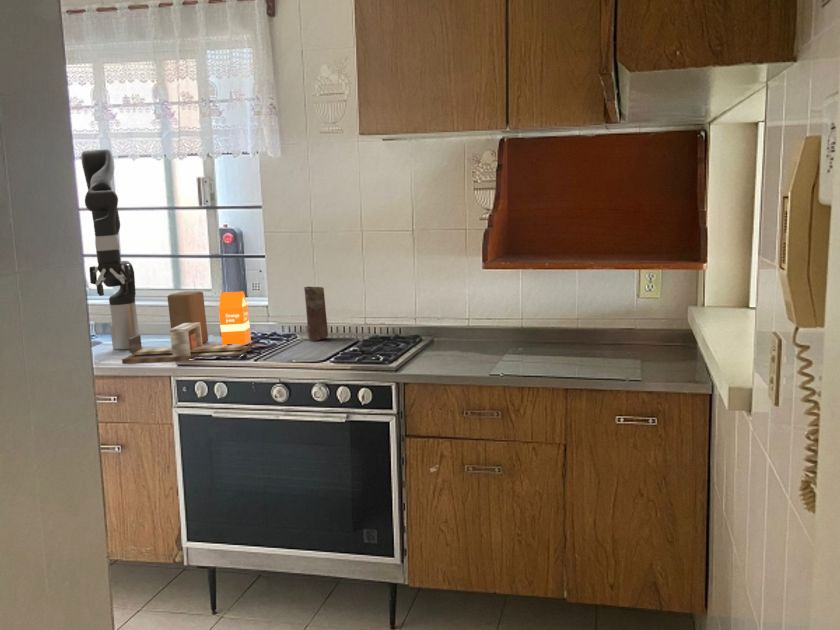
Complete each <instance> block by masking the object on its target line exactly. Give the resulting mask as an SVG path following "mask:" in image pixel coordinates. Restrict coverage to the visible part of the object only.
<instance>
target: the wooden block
mask: <svg viewBox="0 0 840 630" xmlns="http://www.w3.org/2000/svg"><path fill="white" fill-rule="evenodd" d="M167 305H168V313H169V324H170V329H172V328H174V327H177V326H179V325H181V324H183V323H196V322H200V325H201V335H202V344H203V345H204V344H205V343H208V342H209V335H208V334H209V333H208V327H207V318H206V308H205V297H204V293H203V291H201V290H198V291H197V290H194V291H193V290H192V291H187V290H186V291H180V292H175V293H172V294H169V295H167Z"/></svg>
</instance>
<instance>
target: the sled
mask: <svg viewBox="0 0 840 630" xmlns="http://www.w3.org/2000/svg"><path fill="white" fill-rule="evenodd" d="M188 334H189V343H190V352H206V351H228V350H241V349H242V348H244V344H239V345H222V344H221V345H203V346H197V340H196V333H188ZM141 337H142V336H141V334H139V335H136V336H134V337H131V338H129V339H128V340H129V348H130V349H129V354H130V355H143V354H164V353H172V347H161V348H143V345H142V340H141V339H142V338H141Z"/></svg>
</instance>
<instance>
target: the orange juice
mask: <svg viewBox="0 0 840 630" xmlns="http://www.w3.org/2000/svg"><path fill="white" fill-rule="evenodd" d="M219 294H220V295H219V306H218V313H219V314H218V315H219V316H218V317H219V324H220V325H219V326H220V327H221V335H222V338H221V345H227V344H247V343H248V342H249V341H251V342H252V339H251V337H252V336H251V328H250V327H251V325H250V316H249V307H248V306H249V305H248V302H247V299H246V296H245V293H244V291H229V292H220V293H219ZM220 327H219V328H220ZM221 335H220V336H221Z"/></svg>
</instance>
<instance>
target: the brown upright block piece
mask: <svg viewBox="0 0 840 630" xmlns="http://www.w3.org/2000/svg"><path fill="white" fill-rule="evenodd" d="M303 288H304V289H303V291H304V299H305V311H306V324H307V325H306V326H307V336H308V340H309V342H315V341H319V340H324V339H327V338H328V336H329V330H328V318H327V310H326V297H325V288H324V287H323V286H304V287H303Z"/></svg>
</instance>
